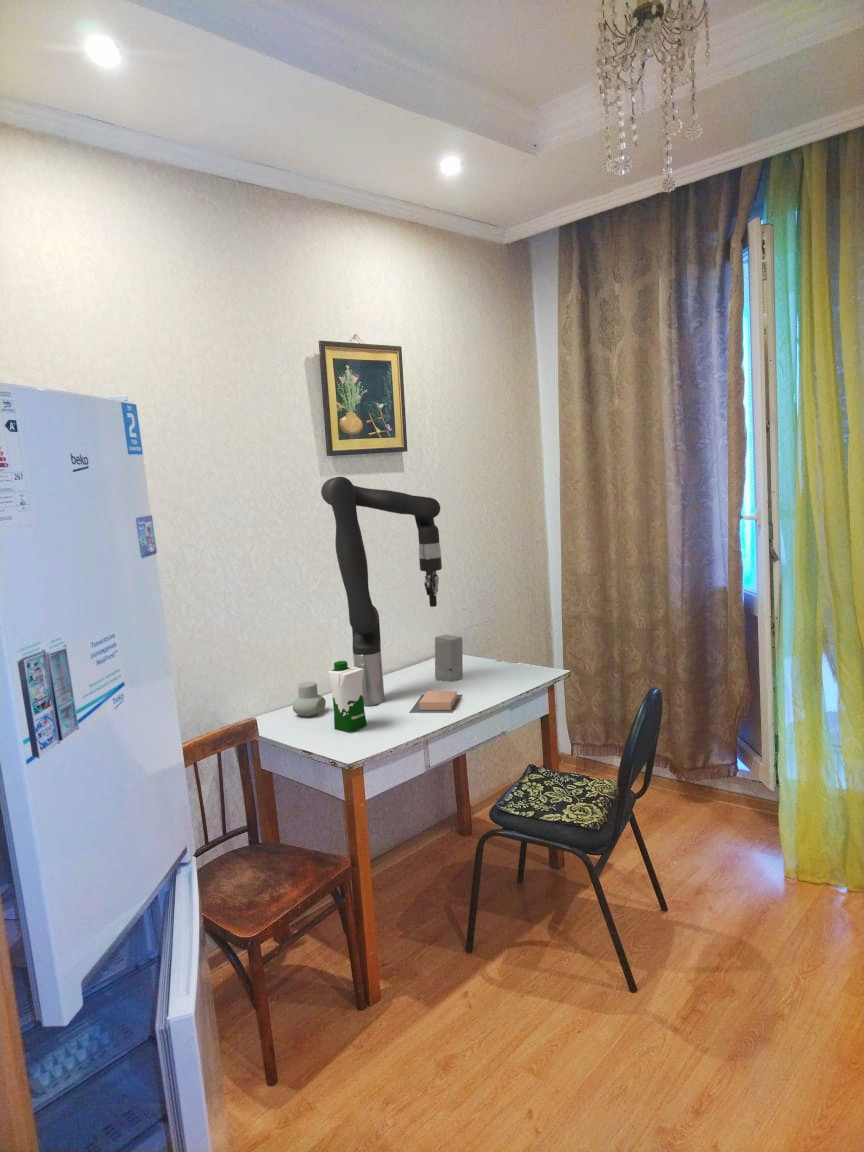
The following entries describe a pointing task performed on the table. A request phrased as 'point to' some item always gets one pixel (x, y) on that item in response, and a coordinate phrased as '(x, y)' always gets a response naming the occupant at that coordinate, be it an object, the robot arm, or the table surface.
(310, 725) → the table surface
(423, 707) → the glazed tile
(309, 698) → the grey rounded piece
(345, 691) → the milk carton
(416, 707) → the rubber mat
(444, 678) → the skincare box
